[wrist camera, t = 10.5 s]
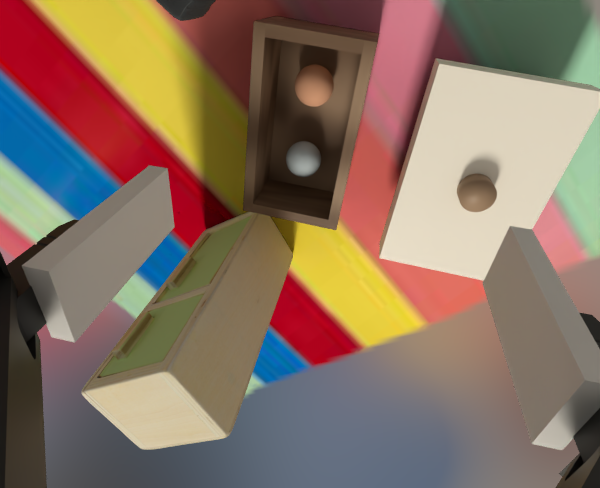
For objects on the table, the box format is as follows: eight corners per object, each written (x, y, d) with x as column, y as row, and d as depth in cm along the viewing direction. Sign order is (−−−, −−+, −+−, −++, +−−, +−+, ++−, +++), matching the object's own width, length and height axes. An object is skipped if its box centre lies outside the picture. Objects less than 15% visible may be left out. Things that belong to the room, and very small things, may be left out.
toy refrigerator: (261, 196, 39) (159, 364, 21) (296, 254, 42) (231, 441, 24) (200, 223, 42) (68, 387, 24) (236, 274, 45) (141, 452, 27)
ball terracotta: (301, 58, 30) (293, 64, 28) (339, 65, 30) (334, 71, 28) (296, 97, 32) (288, 107, 30) (332, 104, 32) (327, 114, 29)
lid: (435, 58, 26) (441, 66, 23) (590, 85, 25) (618, 97, 22) (379, 242, 34) (379, 266, 31) (494, 267, 33) (505, 293, 30)
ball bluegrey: (292, 133, 34) (284, 144, 31) (325, 140, 33) (321, 151, 31) (288, 165, 35) (280, 178, 33) (320, 172, 35) (315, 185, 33)
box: (275, 16, 30) (253, 21, 25) (379, 33, 29) (377, 42, 24) (261, 181, 38) (243, 210, 33) (342, 198, 37) (336, 230, 32)
